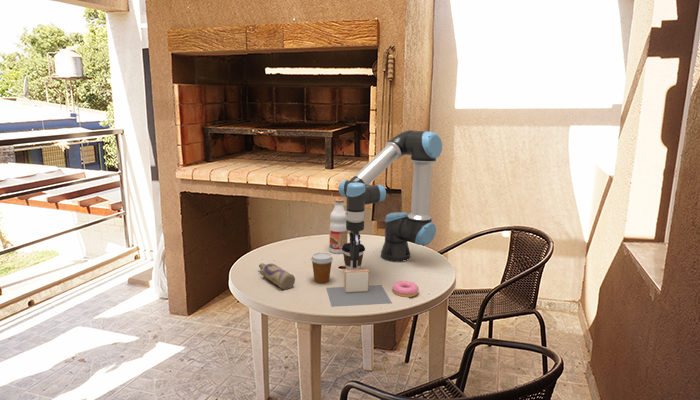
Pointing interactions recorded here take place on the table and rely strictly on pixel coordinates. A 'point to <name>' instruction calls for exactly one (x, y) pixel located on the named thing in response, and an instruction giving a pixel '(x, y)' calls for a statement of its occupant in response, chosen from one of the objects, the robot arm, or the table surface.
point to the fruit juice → (338, 227)
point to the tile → (356, 280)
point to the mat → (358, 296)
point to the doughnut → (405, 288)
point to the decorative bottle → (277, 275)
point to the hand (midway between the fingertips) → (353, 273)
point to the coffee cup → (347, 257)
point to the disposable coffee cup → (321, 267)
